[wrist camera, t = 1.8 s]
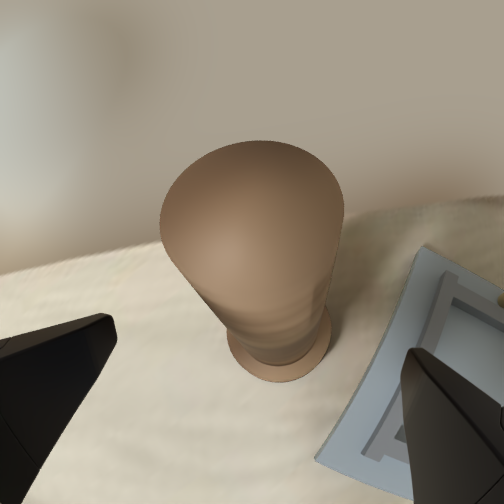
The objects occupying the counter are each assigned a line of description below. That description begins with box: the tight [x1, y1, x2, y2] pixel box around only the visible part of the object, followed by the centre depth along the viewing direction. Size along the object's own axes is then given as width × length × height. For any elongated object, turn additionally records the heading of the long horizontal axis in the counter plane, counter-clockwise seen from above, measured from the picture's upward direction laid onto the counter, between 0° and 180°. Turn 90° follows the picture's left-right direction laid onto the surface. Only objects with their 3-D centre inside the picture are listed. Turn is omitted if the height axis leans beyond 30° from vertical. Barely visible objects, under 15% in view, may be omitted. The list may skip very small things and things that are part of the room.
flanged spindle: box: [160, 141, 344, 382], centre depth 13 cm, size 6×6×13 cm
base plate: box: [314, 246, 504, 501], centre depth 12 cm, size 15×15×4 cm
